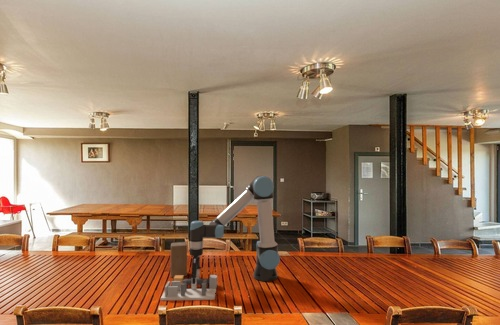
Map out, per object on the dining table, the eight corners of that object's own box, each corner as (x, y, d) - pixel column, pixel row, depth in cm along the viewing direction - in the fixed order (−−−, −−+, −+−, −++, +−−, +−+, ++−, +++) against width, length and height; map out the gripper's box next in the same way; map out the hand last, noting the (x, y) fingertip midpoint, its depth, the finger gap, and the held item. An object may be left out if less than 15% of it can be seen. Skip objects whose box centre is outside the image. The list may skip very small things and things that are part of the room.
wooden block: (170, 278, 193) (171, 246, 193) (170, 273, 202) (170, 242, 203) (186, 276, 195) (187, 245, 196) (185, 271, 205) (186, 241, 206)
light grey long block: (215, 290, 173) (216, 277, 173) (214, 299, 161) (214, 285, 161) (165, 291, 172) (165, 278, 172) (160, 300, 160) (160, 286, 160)
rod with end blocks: (216, 285, 182) (217, 274, 182) (216, 288, 177) (216, 277, 177) (175, 285, 181) (175, 275, 181) (173, 288, 176) (173, 278, 176)
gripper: (192, 242, 192) (191, 276, 191) (186, 253, 166) (185, 293, 166) (204, 242, 192) (204, 276, 191) (200, 253, 167) (199, 293, 166)
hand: (195, 284), depth 179 cm, fingers open, 13 cm apart
